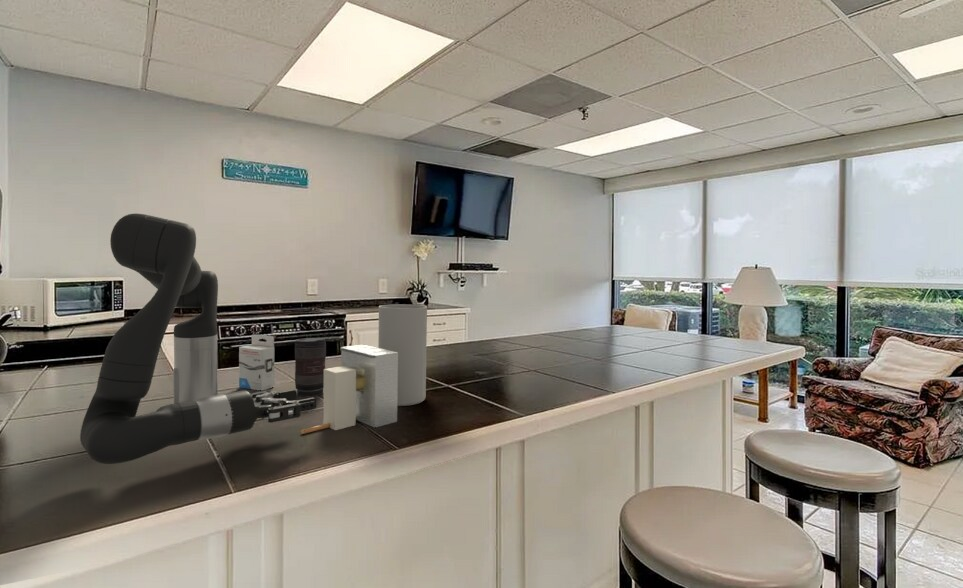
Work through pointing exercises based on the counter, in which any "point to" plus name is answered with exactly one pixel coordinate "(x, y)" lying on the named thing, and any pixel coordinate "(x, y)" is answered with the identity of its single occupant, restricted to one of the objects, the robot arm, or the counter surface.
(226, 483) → the counter surface
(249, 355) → the ink box
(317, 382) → the dark lidded canister
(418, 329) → the cylinder vase
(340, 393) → the plug
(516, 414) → the counter surface
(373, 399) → the block
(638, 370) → the counter surface
